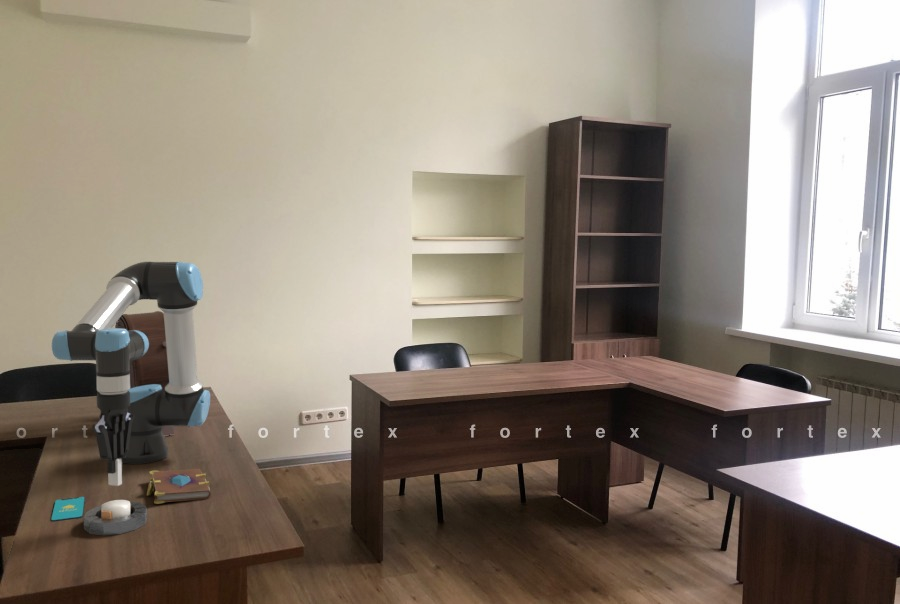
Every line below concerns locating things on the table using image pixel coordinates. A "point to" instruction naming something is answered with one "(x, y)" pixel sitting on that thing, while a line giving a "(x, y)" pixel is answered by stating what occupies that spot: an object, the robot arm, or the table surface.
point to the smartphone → (68, 509)
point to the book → (178, 485)
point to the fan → (149, 352)
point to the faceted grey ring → (115, 521)
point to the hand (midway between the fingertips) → (115, 484)
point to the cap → (115, 509)
